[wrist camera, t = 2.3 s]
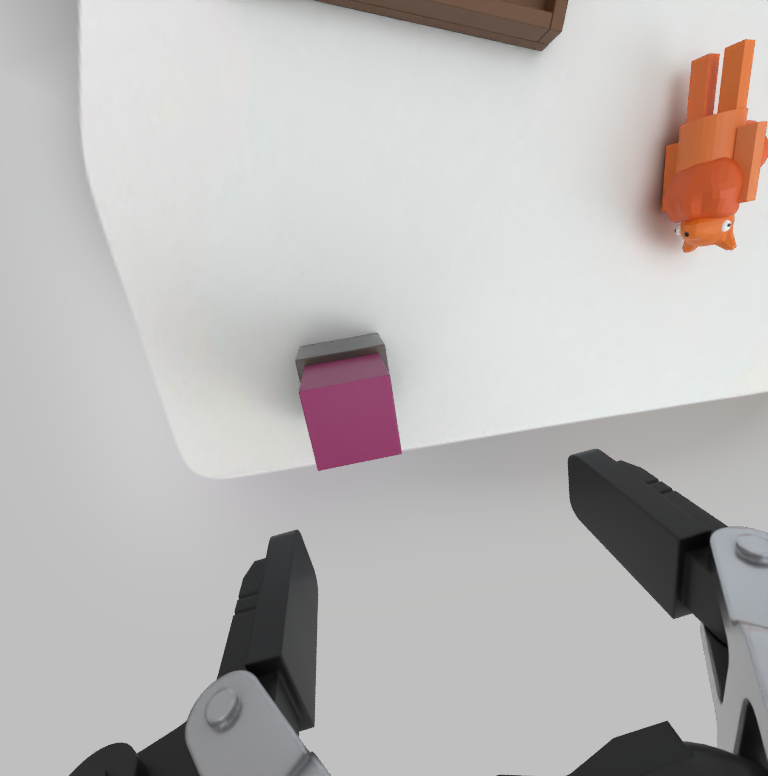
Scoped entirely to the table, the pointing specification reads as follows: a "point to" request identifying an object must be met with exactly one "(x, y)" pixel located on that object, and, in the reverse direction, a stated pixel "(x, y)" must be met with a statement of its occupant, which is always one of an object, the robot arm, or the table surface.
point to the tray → (477, 17)
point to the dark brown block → (340, 351)
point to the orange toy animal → (714, 152)
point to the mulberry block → (349, 411)
